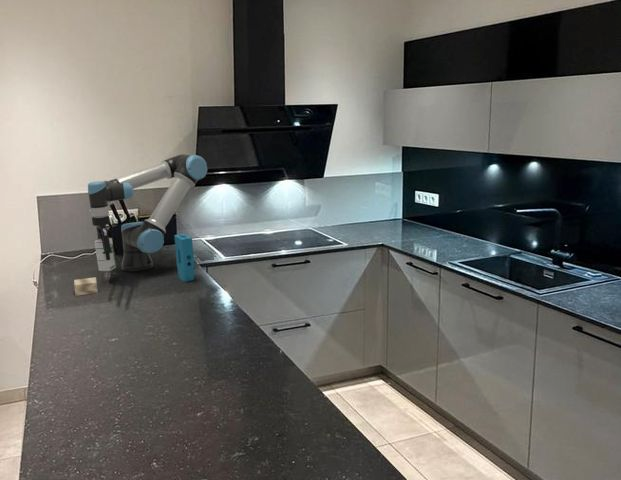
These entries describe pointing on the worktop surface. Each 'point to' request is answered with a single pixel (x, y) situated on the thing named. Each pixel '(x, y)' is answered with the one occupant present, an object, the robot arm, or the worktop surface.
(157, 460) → the worktop surface
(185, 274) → the block
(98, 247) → the syrup box
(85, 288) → the birch block
